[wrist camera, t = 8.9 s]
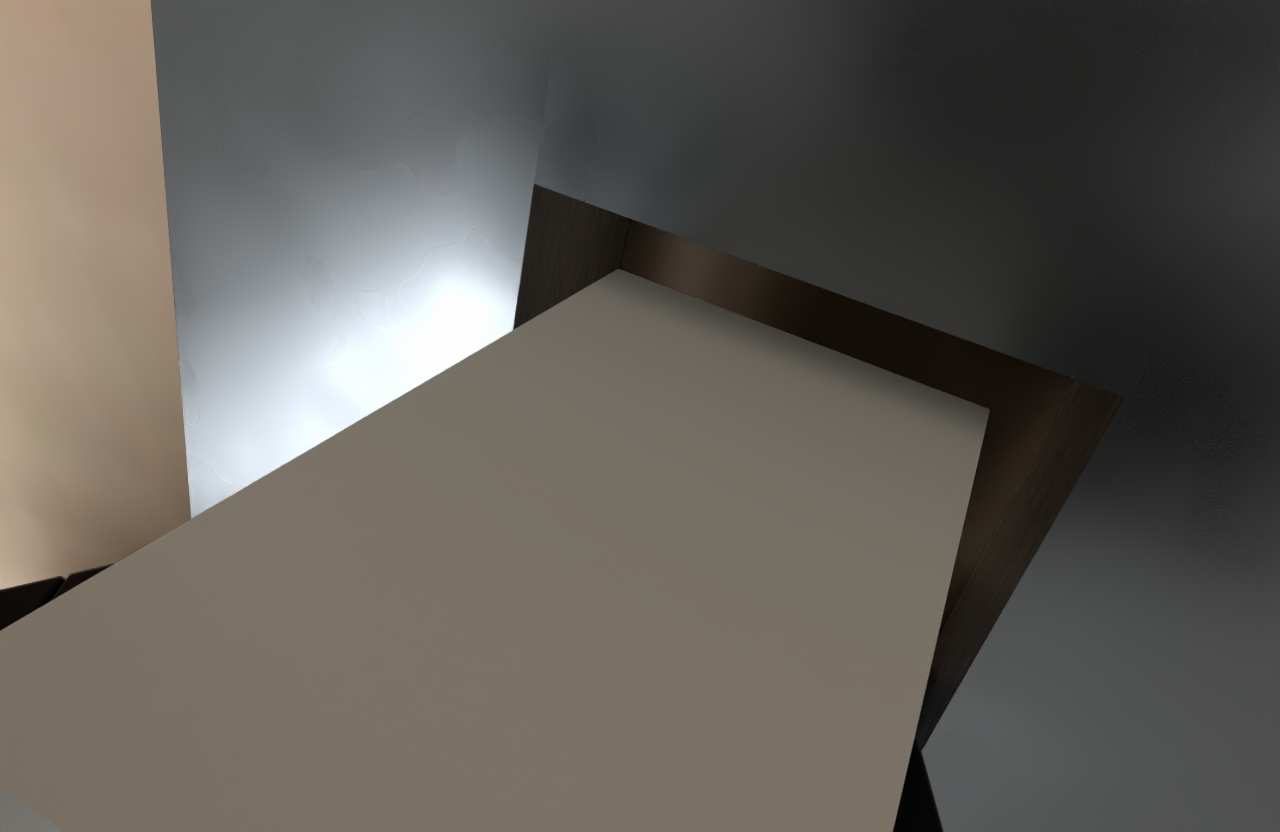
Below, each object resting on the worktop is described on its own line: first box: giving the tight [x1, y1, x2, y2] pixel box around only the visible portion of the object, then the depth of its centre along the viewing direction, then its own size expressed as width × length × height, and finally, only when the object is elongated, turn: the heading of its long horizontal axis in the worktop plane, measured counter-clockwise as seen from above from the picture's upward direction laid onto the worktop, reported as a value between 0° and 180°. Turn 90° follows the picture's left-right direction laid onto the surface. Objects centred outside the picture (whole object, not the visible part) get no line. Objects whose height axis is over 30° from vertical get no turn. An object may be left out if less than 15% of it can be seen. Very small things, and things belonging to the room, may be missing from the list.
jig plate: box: [151, 0, 1280, 832], centre depth 12 cm, size 18×16×3 cm
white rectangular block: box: [0, 269, 990, 832], centre depth 8 cm, size 5×5×8 cm
